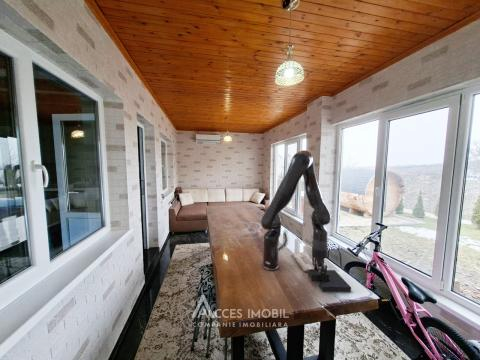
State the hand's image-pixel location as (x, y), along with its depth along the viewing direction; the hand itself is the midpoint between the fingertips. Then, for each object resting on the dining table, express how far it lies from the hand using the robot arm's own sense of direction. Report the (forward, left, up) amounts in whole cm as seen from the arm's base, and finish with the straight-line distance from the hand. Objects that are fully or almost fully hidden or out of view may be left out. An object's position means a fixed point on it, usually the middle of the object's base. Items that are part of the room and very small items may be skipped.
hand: (318, 277), depth 103 cm
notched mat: (0, +6, -3) cm, 7 cm away
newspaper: (-22, +2, -3) cm, 22 cm away
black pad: (0, 0, 0) cm, 0 cm away
